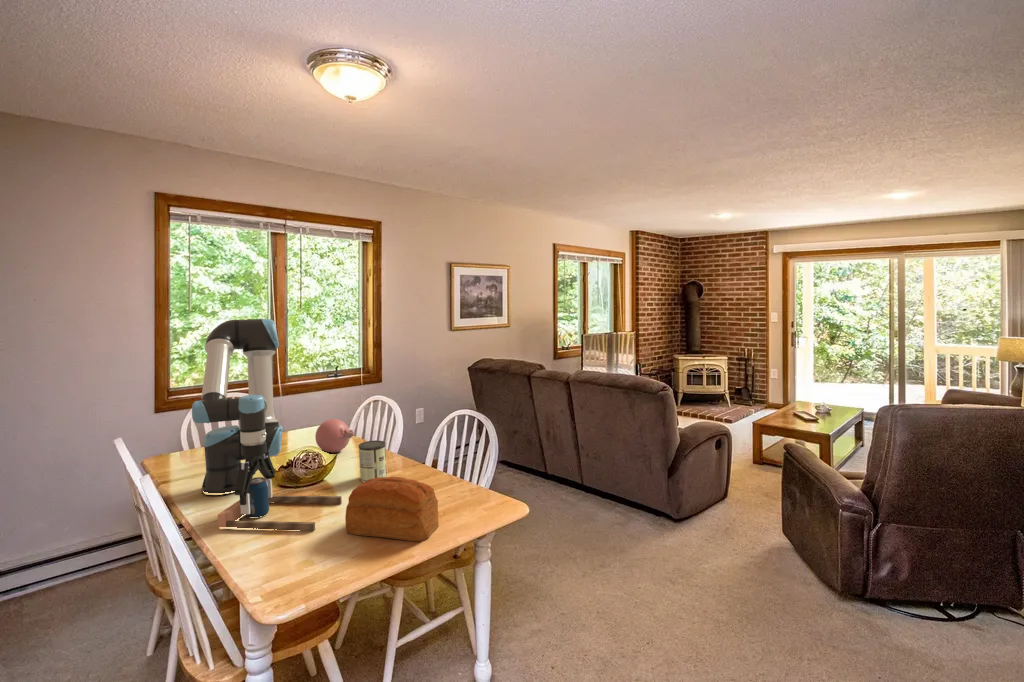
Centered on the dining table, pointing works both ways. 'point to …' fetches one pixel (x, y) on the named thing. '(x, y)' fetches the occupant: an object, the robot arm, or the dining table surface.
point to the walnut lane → (287, 525)
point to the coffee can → (372, 460)
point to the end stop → (229, 514)
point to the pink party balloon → (333, 435)
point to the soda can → (258, 497)
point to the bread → (392, 509)
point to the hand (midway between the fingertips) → (257, 505)
